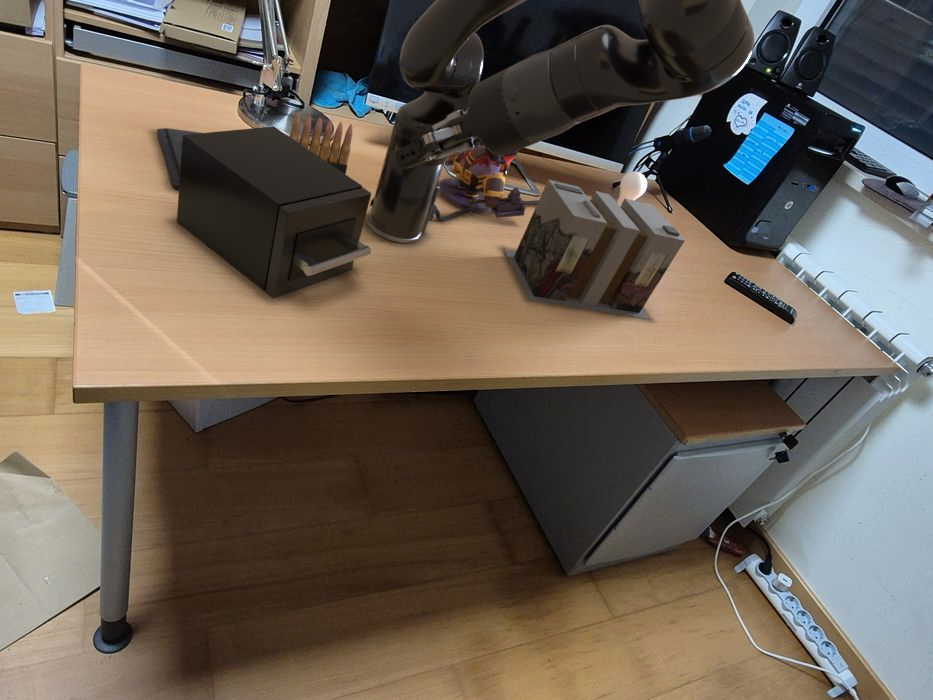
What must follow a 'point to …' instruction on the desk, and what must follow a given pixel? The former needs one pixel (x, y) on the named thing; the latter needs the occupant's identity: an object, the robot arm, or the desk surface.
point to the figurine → (481, 183)
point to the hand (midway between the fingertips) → (401, 160)
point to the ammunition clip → (324, 141)
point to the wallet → (172, 151)
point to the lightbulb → (632, 186)
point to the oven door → (317, 240)
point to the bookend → (593, 251)
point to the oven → (248, 191)
